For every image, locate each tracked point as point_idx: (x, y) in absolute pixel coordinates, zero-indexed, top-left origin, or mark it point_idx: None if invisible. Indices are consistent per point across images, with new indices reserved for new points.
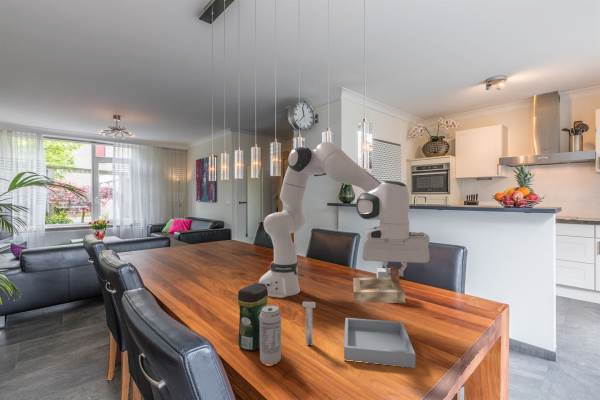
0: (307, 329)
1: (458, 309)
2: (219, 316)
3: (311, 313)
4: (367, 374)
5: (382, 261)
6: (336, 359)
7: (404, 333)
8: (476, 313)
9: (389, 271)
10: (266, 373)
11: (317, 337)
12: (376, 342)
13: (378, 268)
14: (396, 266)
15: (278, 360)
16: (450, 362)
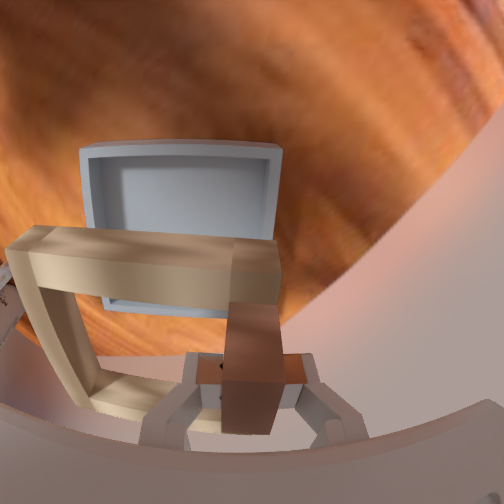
0: None
1: (477, 19)
2: None
3: (1, 287)
4: (161, 320)
5: (140, 435)
6: None
7: (265, 232)
8: (500, 52)
9: (207, 402)
10: (27, 322)
11: (42, 206)
12: (181, 226)
13: None
14: (285, 382)
15: (24, 310)
16: (343, 269)
